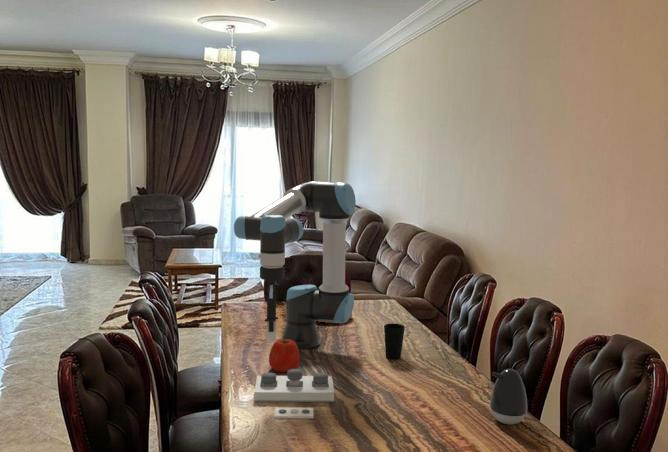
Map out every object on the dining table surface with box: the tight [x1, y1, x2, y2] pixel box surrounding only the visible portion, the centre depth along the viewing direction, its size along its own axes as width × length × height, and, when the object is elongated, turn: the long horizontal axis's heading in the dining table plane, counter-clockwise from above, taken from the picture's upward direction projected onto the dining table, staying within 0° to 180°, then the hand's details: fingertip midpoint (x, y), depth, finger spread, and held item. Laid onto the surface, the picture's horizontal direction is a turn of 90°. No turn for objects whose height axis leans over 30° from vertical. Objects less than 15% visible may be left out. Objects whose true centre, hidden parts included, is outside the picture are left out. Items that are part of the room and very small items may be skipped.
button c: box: [260, 372, 277, 387], centre depth 186 cm, size 5×5×5 cm
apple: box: [268, 339, 301, 373], centre depth 208 cm, size 11×11×11 cm
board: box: [253, 375, 335, 403], centre depth 186 cm, size 14×24×3 cm, turn 93°
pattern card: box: [274, 407, 315, 419], centre depth 171 cm, size 6×11×1 cm, turn 93°
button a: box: [312, 372, 329, 387], centre depth 187 cm, size 5×5×5 cm
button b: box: [286, 368, 303, 387], centre depth 186 cm, size 5×5×5 cm
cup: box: [383, 322, 406, 361], centre depth 223 cm, size 8×8×12 cm
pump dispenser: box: [489, 368, 528, 425], centre depth 170 cm, size 10×10×15 cm
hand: (271, 340), depth 185 cm, fingers closed
